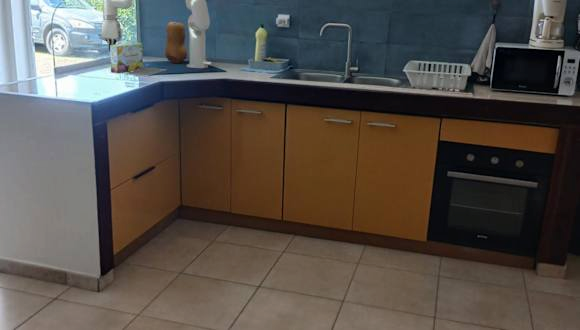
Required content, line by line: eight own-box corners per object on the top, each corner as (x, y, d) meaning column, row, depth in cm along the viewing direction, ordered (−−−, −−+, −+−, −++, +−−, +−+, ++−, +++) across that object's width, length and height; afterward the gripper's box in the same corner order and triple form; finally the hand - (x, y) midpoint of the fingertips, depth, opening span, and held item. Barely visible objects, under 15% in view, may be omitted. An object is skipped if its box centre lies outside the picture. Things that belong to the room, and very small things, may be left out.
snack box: (118, 73, 329) (117, 45, 324) (110, 72, 331) (109, 44, 326) (143, 69, 347) (142, 42, 342) (135, 68, 349) (134, 41, 345)
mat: (167, 70, 346) (167, 69, 346) (148, 76, 324) (148, 75, 323) (145, 68, 349) (145, 67, 349) (124, 74, 327) (124, 73, 327)
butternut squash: (190, 62, 380) (189, 21, 372) (183, 65, 367) (183, 23, 360) (168, 60, 382) (168, 20, 374) (161, 63, 369) (160, 22, 361)
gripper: (126, 18, 334) (127, 51, 340) (102, 16, 338) (103, 49, 343) (119, 19, 327) (120, 53, 333) (94, 17, 331) (96, 51, 336)
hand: (112, 51), depth 338 cm, fingers closed
